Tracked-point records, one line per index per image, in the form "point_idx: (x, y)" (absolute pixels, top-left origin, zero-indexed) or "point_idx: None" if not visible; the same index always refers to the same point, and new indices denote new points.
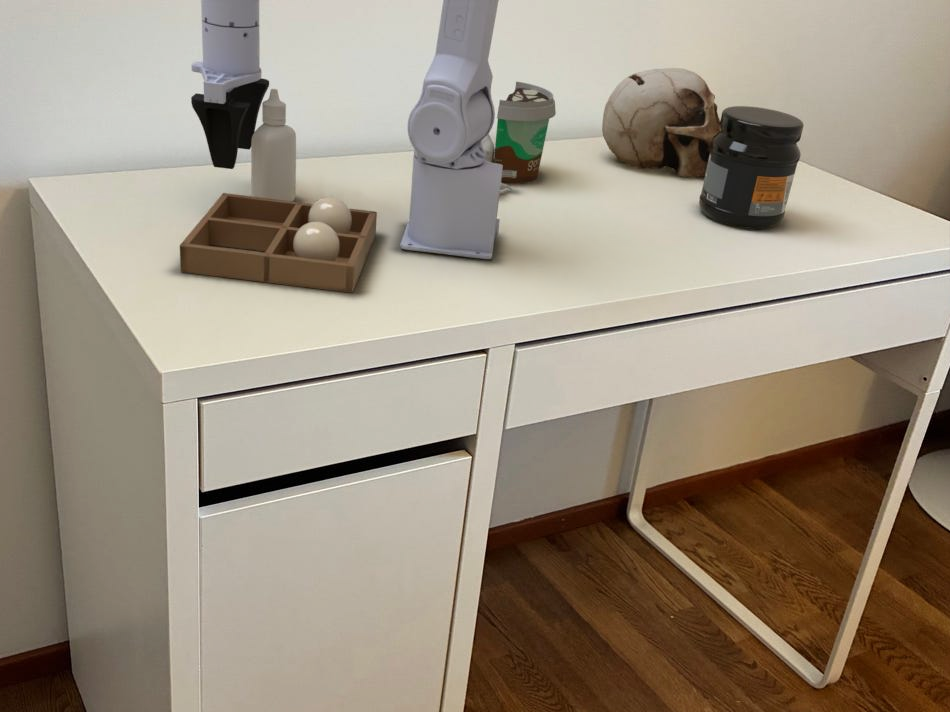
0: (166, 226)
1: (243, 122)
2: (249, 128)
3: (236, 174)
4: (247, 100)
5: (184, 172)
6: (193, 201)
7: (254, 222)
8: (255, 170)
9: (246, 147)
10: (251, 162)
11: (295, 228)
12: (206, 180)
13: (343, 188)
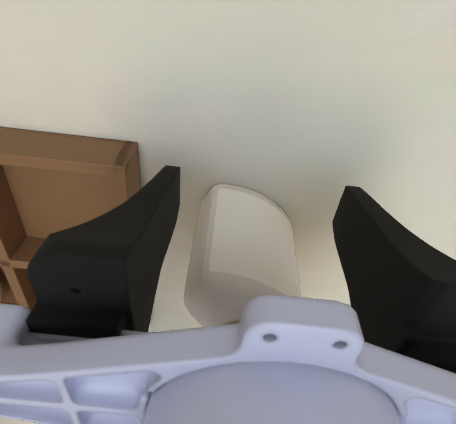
0: (31, 37)
1: (353, 256)
2: (344, 257)
3: (427, 135)
4: (368, 315)
5: (451, 6)
6: (215, 69)
7: (113, 197)
8: (201, 234)
9: (334, 219)
10: (209, 236)
11: (10, 275)
12: (379, 76)
13: (345, 291)
